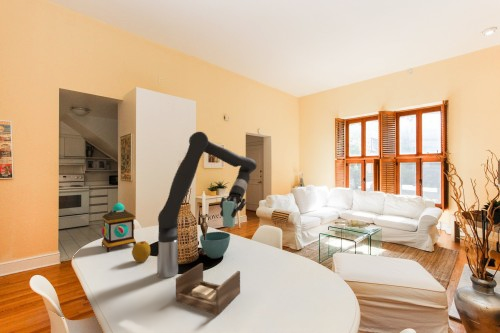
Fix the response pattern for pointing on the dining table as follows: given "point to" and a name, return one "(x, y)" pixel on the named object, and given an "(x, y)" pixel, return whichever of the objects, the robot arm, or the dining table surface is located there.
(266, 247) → the dining table surface
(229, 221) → the teal board
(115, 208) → the decorative lantern
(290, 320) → the dining table surface
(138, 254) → the apple
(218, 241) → the plant pot
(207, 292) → the offcut stack
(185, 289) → the walnut rack
